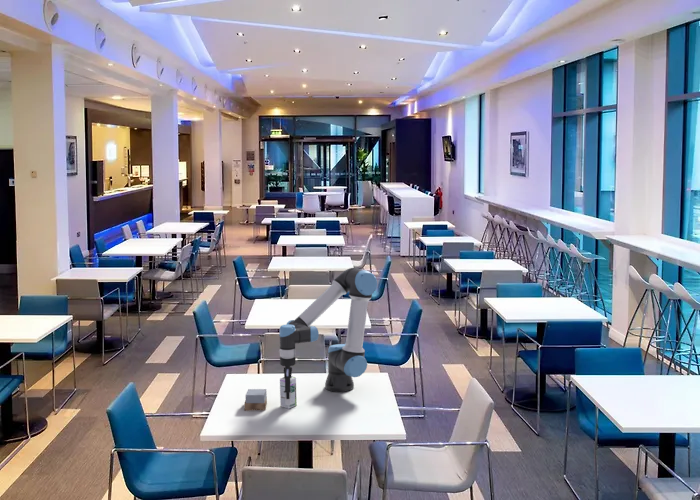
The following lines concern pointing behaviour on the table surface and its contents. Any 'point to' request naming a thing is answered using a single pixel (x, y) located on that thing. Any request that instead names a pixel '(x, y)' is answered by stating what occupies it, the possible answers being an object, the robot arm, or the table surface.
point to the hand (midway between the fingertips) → (288, 401)
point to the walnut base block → (255, 406)
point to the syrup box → (292, 389)
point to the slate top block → (256, 396)
